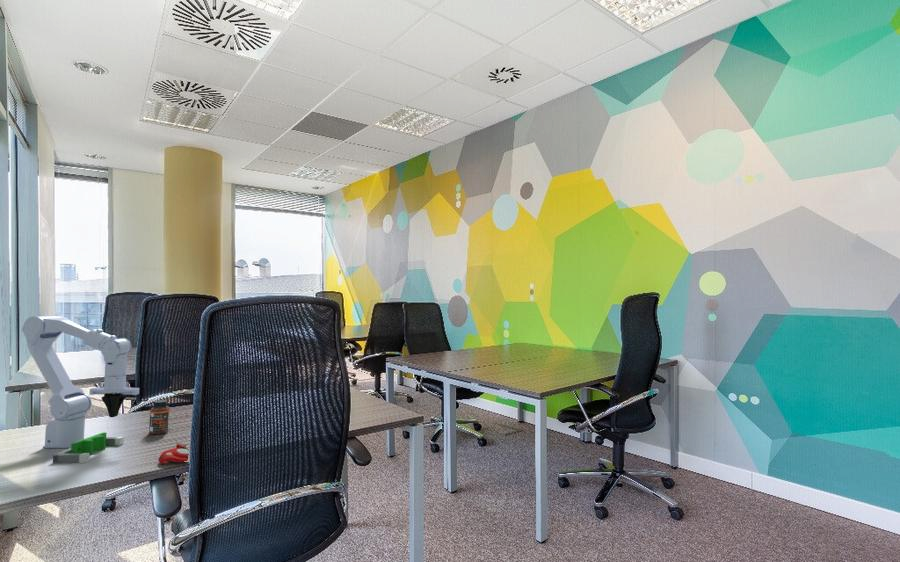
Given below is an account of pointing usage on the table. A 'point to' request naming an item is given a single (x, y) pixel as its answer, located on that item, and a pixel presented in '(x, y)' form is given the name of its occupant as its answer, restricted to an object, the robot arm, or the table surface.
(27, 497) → the table surface
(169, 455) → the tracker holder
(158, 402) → the supplement bottle
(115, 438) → the keeper bracket
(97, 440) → the green block
